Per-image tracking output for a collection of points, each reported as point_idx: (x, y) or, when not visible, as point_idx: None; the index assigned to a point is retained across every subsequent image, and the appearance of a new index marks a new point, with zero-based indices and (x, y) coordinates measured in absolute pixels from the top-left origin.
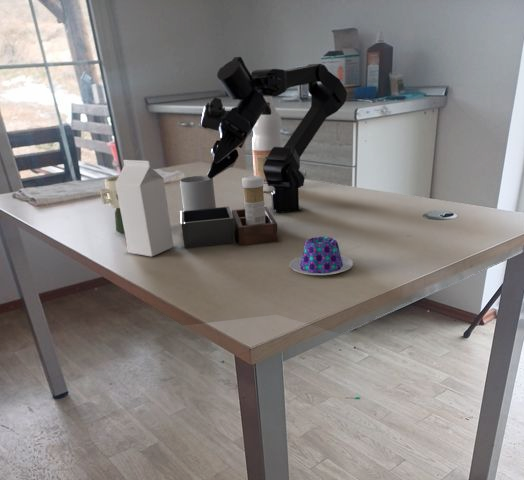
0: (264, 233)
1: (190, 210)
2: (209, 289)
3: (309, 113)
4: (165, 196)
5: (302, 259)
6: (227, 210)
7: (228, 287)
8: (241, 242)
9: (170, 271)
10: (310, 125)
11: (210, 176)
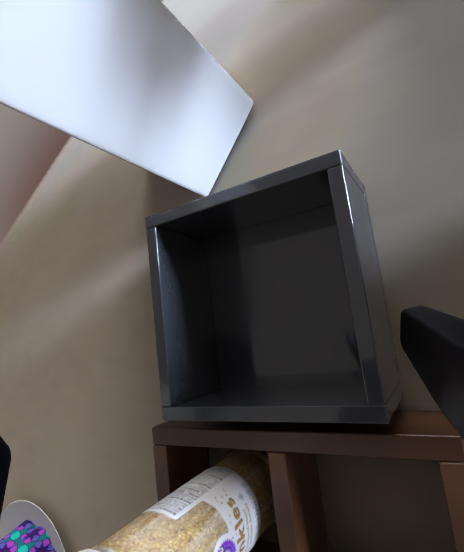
0: None
1: (337, 202)
2: (2, 330)
3: None
4: (62, 130)
5: (12, 536)
6: (290, 407)
7: (3, 363)
8: None
9: (71, 239)
10: None
11: (408, 343)
